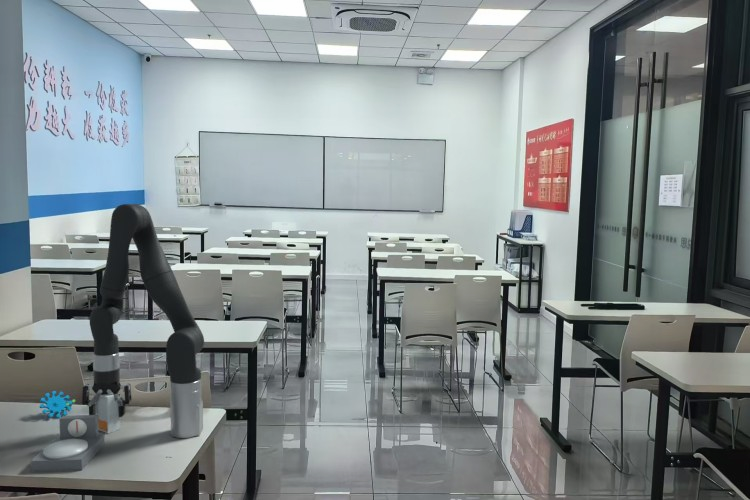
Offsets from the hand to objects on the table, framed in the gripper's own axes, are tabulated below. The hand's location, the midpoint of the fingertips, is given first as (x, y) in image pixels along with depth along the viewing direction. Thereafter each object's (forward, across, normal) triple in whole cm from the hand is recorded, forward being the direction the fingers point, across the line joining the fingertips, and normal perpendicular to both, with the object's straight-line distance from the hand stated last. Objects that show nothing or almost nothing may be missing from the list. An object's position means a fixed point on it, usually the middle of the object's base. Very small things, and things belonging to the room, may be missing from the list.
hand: (107, 416), depth 182 cm
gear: (+5, +21, -14) cm, 26 cm away
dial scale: (+4, +4, +19) cm, 20 cm away
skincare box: (+4, 0, 0) cm, 4 cm away
